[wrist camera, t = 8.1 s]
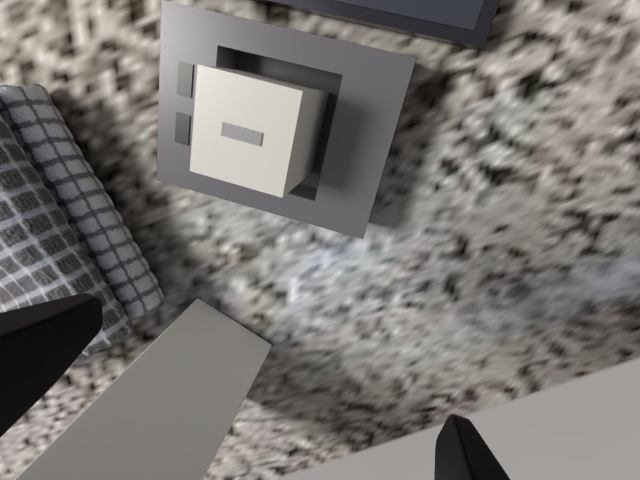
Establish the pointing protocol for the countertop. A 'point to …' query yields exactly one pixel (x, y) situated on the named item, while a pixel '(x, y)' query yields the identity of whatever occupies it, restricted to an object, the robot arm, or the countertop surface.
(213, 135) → the block
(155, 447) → the milk
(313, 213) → the grey tray
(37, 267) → the towel
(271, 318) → the countertop surface
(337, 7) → the phone
